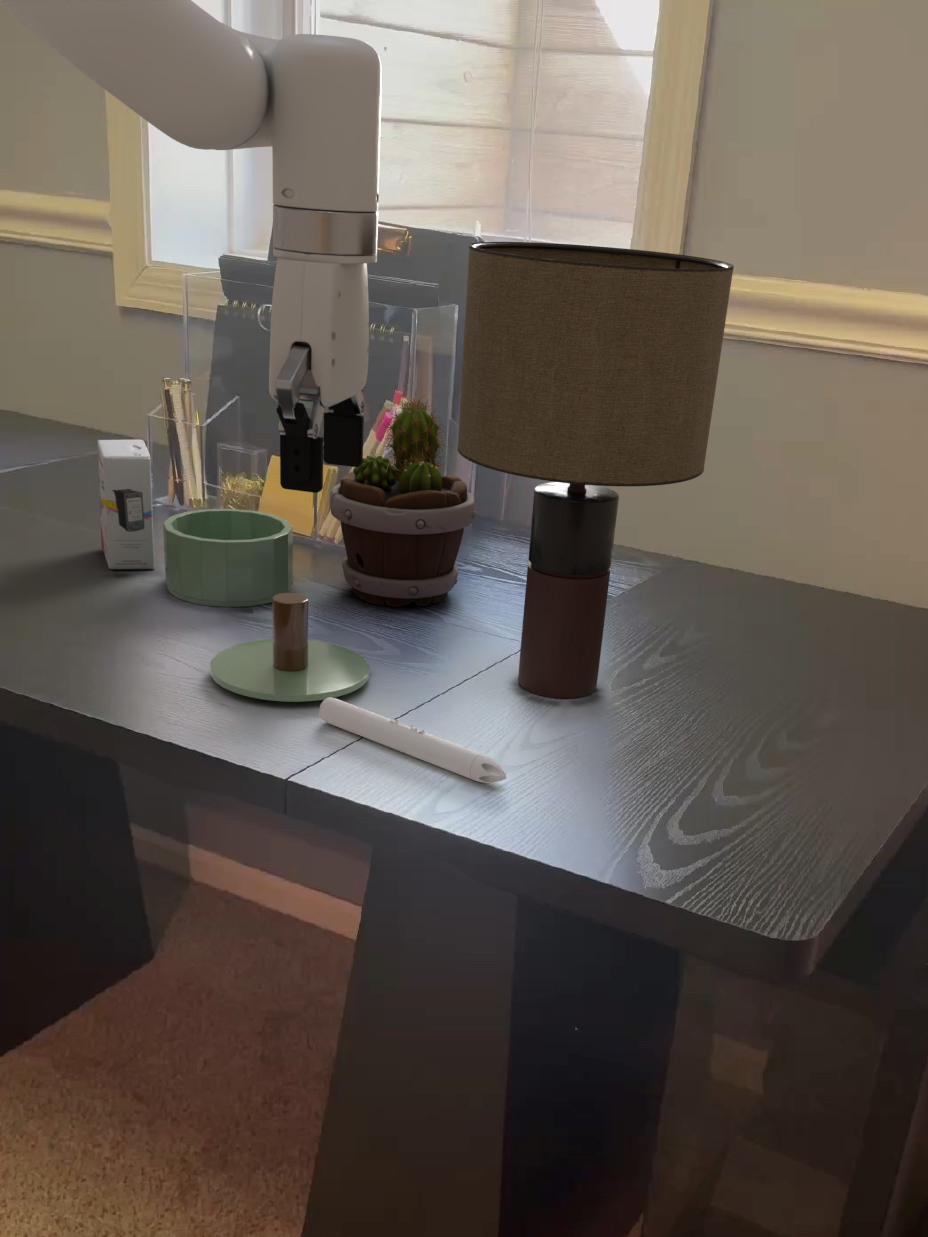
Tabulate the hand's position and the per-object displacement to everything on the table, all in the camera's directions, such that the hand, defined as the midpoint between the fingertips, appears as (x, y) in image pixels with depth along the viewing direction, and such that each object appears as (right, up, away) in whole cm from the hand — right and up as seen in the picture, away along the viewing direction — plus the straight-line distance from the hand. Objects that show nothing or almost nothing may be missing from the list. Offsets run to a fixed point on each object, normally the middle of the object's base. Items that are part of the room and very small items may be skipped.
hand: (323, 476), depth 102 cm
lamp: (+19, -15, +14) cm, 28 cm away
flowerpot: (+4, -3, +34) cm, 34 cm away
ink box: (-25, +2, +38) cm, 46 cm away
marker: (+7, -22, -2) cm, 23 cm away
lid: (-4, -14, +10) cm, 18 cm away
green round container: (-13, -2, +32) cm, 34 cm away
